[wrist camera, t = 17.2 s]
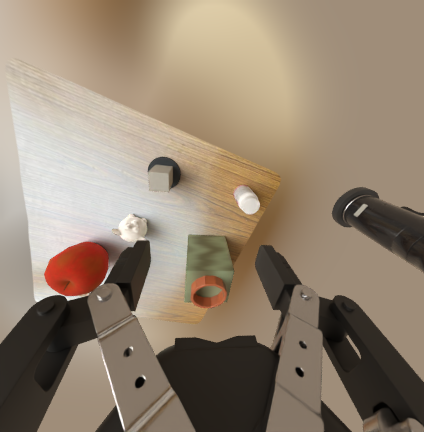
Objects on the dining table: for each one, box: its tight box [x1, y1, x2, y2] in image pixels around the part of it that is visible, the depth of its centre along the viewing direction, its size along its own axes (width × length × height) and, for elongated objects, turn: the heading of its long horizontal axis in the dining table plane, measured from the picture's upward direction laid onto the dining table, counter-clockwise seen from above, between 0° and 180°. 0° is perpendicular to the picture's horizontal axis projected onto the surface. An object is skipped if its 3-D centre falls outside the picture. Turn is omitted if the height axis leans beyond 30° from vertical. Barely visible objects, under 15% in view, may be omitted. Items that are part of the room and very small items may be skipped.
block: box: [148, 165, 173, 192], centre depth 37 cm, size 4×4×7 cm
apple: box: [44, 242, 109, 296], centre depth 43 cm, size 12×12×14 cm
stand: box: [184, 235, 234, 302], centre depth 47 cm, size 11×11×14 cm
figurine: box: [112, 214, 147, 242], centre depth 44 cm, size 8×6×7 cm
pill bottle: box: [234, 185, 260, 214], centre depth 41 cm, size 5×5×8 cm
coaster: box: [148, 157, 181, 188], centre depth 41 cm, size 8×8×1 cm
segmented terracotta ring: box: [191, 276, 227, 308], centre depth 40 cm, size 8×8×2 cm
